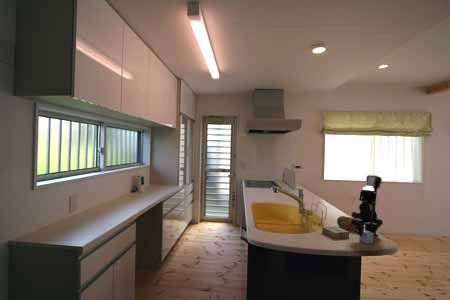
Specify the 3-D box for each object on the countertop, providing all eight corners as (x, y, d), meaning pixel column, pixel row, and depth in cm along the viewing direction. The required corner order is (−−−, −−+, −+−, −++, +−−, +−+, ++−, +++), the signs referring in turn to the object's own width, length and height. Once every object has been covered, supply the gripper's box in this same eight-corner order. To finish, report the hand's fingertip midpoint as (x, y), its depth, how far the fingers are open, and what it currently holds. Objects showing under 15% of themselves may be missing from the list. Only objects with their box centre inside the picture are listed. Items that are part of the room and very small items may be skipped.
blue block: (365, 239, 145) (366, 230, 145) (373, 242, 140) (373, 232, 140) (359, 240, 143) (359, 230, 143) (366, 243, 138) (367, 233, 138)
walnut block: (335, 232, 157) (335, 226, 157) (348, 238, 147) (349, 231, 147) (322, 233, 154) (322, 227, 154) (334, 239, 144) (334, 233, 144)
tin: (336, 226, 168) (337, 215, 168) (338, 226, 170) (338, 214, 170) (359, 232, 157) (360, 220, 157) (361, 231, 160) (361, 219, 160)
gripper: (367, 206, 152) (366, 230, 152) (344, 207, 146) (343, 232, 146) (383, 210, 141) (382, 236, 141) (359, 212, 136) (358, 239, 136)
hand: (366, 236), depth 142 cm, fingers open, 9 cm apart
